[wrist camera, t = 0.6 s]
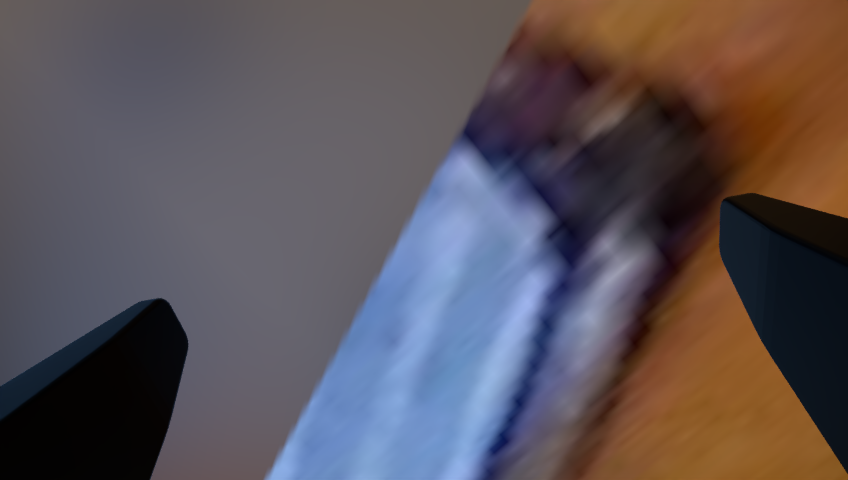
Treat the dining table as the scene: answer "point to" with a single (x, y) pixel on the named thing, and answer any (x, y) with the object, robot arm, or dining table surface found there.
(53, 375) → the robot arm
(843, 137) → the dining table surface
